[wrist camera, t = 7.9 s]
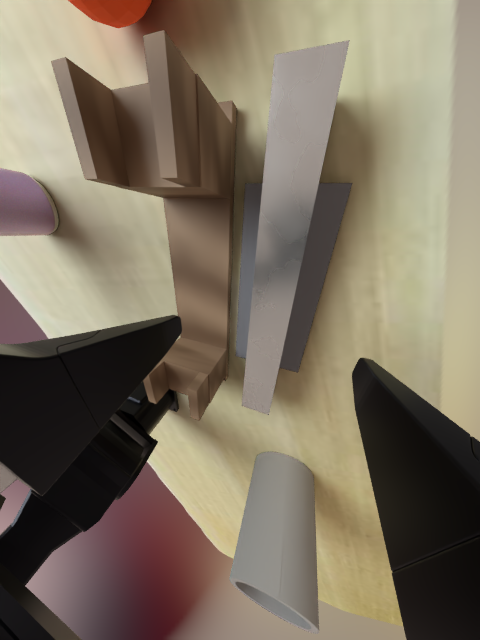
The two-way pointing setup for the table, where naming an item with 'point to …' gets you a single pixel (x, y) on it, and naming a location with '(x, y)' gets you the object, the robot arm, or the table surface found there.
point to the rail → (288, 202)
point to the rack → (170, 195)
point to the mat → (311, 272)
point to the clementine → (113, 10)
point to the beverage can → (25, 206)
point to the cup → (279, 541)
